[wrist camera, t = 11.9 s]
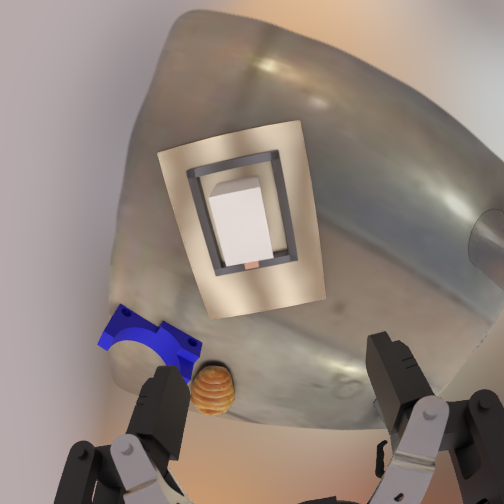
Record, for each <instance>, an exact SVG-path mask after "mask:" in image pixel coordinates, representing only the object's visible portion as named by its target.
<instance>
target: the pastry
mask: <svg viewBox="0 0 504 504" xmlns="http://www.w3.org/2000/svg"><path fill="white" fill-rule="evenodd" d="M234 396H235V390H234V386H233V382H232V378H231V375H230V373H229V372H228V370H227V369H226V368H224V367H219V366H206V367H205V368H203V369H202V370H200V372H199V374H198V375H197V376H196V377H195V379H194V382H193V383H192V384H191V396H190V399H191V401H192V403H193V404H194V405H195V407H196V408H197V410H198V411H199V412H201V413H203V414H206V415H210V416H213V415H217V414H219V415H221V414H223V413H225V412H226V411H227V410H228V409H229V408H230V406H231V404H232V403H233V401H234V399H235V397H234Z"/></svg>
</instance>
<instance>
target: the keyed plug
mask: <svg viewBox="0 0 504 504" xmlns="http://www.w3.org/2000/svg"><path fill="white" fill-rule="evenodd" d="M208 198H209V202H210V206H211V210H212V214H213V218H214V222H215V226H216V230H217V233H218V237H219V241H220V245H221V249H222V253H223V256H224V260H225V264H226V266H232V265H238V264H243V263H244V265H245V269H251V268H256V267H259V261H260V260H265V259H271V258H274V257H273V252H272V246H271V240H270V235H269V229H268V224H267V219H266V214H265V208H264V203H263V198H262V193H261V188H260V183H259V178H258V175H255V176H249V177H244V178H239V179H235V180H230V181H225V182H220V183H217V184H216V186H215V187H214V189H213V191H212V192H211V194H210V196H209V197H208Z"/></svg>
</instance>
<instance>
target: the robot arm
mask: <svg viewBox="0 0 504 504" xmlns="http://www.w3.org/2000/svg"><path fill="white" fill-rule="evenodd" d="M468 251H469V257H470V260H471V262H472V263H473V264H474V265H475V266H476V267H477V268H479V269H480V270H481V271H482V272H483V273H484V274H486V275H487V276H488V277H489V278H490V279H491V280H492V281H494V282H495V283H496V284H497V285H498V286H499V287H500V288H502V289H503V290H504V213H503V212H501V211H499V210H497V209H490V210H488V211H486V212H485V213H484V214H482V215H481V217H480V218H479V219H478V221H477V222H476V224H475V226H474V228H473V230H472V233H471V236H470V240H469V249H468ZM366 368H367V373H368V376H369V378H370V381H371V384H372V386H373V389H374V392H375V395H376V397H377V400H378V403H379V406H380V408H381V411H382V414H383V417H384V420H385V423H386V426H387V429H388V432H389V435H393V434H396V433H398V436H399V439H400V441H399V443H398V445H397V447H396V450H395V452H394V454H393V456H392V459H391V460H390V462H389V465H388V467H387V469H386V471H385V473H384V474H383V476H382V478H381V480H380V482H379V484H378V486H377V487H376V489H375V491H374V493H373V494H372V496H371V498H370V500H369V501H368V503H367V504H420V503H421V501H422V499H423V496H424V494H425V492H426V490H427V487H428V485H429V483H430V480H431V478H432V475H433V472H434V469H435V464H434V462H435V458H436V455H437V452H438V451H444V450H449V453H450V456H451V460H452V463H453V466H454V470H455V473H456V477H457V480H458V484H459V487H460V491H461V495H462V499H463V503H464V504H504V408H503V406H502V404H501V402H500V400H499V398H498V396H497V395H496V394H495V393H494V392H492V391H490V390H486V389H483V390H479V391H477V392H475V393H474V394H473V395H472V396H471V398H470V400H463V401H456V402H447V401H445V400H444V399H442V398H441V397H438V396H436V395H435V394H434V393H433V391H432V389H431V387H430V386H429V384H428V382H427V380H426V378H425V376H424V374H423V372H422V371H421V369H420V367H419V366H418V363H417V361H416V360H415V358H414V356H413V354H412V353H411V351H410V349H409V347H408V346H406V345H405V344H404V343H402V342H401V341H400V340H398V341H394V342H392V341H391V339H390V337H389V335H388V334H387V332H385V331H384V332H380V333H377V334H373V335H369V336H368V338H367V351H366ZM189 402H190V391H189V388H188V386H187V384H186V382H185V380H184V379H183V377H182V375H181V373H180V371H179V370H178V368H177V366H175V365H169V366H158V367H157V369H156V372H155V375H154V378H149V379H148V380H147V381H146V382H145V384H144V385H143V386H142V388H141V391H140V394H139V398H138V400H137V403H136V404H137V405H136V406H135V408H134V411H133V414H132V417H131V420H130V423H129V426H128V429H127V432H126V434H124V435H121V436H119V437H117V438H116V439H115V440H114V441H113V443H112V444H111V445H106V446H99V447H94V446H93V445H92V444H91V443H90V442H88V441H79V442H77V443H75V444H74V445H73V446H72V448H71V449H70V452H69V455H68V458H67V461H66V464H65V467H64V471H63V473H62V476H61V480H60V483H59V486H58V490H57V493H56V497H55V500H54V504H125V503H126V504H194V503H193V502H192V501H191V500H190V499H189V497H188V496H187V494H186V493H185V492H184V490H183V489H182V487H181V486H180V484H179V483H178V481H177V479H176V478H175V476H174V475H173V473H172V472H171V470H170V468H169V467H168V462H169V460H176V461H178V459H179V453H180V448H181V443H182V437H183V432H184V427H185V422H186V417H187V412H188V407H189ZM96 481H97V485H96V489H95V494H94V498H93V503H92V495H93V491H94V487H95V483H96ZM299 504H359V503H356V502H351V501H337V500H336V496H333V497H328V498H323V499H317V500H310V501H305V502H302V503H299Z"/></svg>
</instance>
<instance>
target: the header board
mask: <svg viewBox="0 0 504 504" xmlns="http://www.w3.org/2000/svg"><path fill="white" fill-rule="evenodd" d="M157 154H158V158H159V161H160V165H161V169H162V173H163V176H164V180H165V183H166V187H167V190H168V194H169V197H170V201H171V204H172V207H173V211H174V214H175V217H176V221H177V224H178V227H179V230H180V234H181V237H182V240H183V243H184V246H185V249H186V252H187V255H188V258H189V261H190V264H191V267H192V270H193V273H194V276H195V279H196V282H197V285H198V288H199V290H200V293H201V296H202V299H203V302H204V304H205V307H206V310H207V313H208V315H209V318H210V320H213V319H220V318H226V317H232V316H238V315H244V314H250V313H256V312H261V311H267V310H272V309H278V308H283V307H288V306H293V305H298V304H303V303H308V302H313V301H318V300H322V299H326V295H325V284H324V274H323V264H322V256H321V247H320V239H319V231H318V224H317V216H316V209H315V202H314V196H313V189H312V183H311V177H310V171H309V165H308V159H307V154H306V148H305V143H304V138H303V133H302V128H301V123H300V120H297V121H290V122H284V123H278V124H273V125H267V126H262V127H257V128H252V129H247V130H242V131H238V132H233V133H229V134H224V135H220V136H216V137H212V138H208V139H204V140H200V141H197V142H193V143H189V144H186V145H182V146H179V147H175V148H172V149H169V150H165V151H162V152H159V153H157ZM255 175H258V178H259V183H260V188H261V193H262V198H263V203H264V208H265V214H266V219H267V224H268V229H269V235H270V240H271V246H272V252H273V257H274V258H271V259H265V260H260V261H259V267H256V268H251V269H245V265H244V263H243V264H238V265H232V266H226V264H225V260H224V256H223V253H222V249H221V245H220V241H219V237H218V233H217V230H216V226H215V222H214V218H213V214H212V210H211V206H210V202H209V198H208V197H209V196H210V194H211V192H212V191H213V189H214V187H215V186H216V184H217V183H220V182H225V181H230V180H235V179H239V178H244V177H249V176H255Z"/></svg>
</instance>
